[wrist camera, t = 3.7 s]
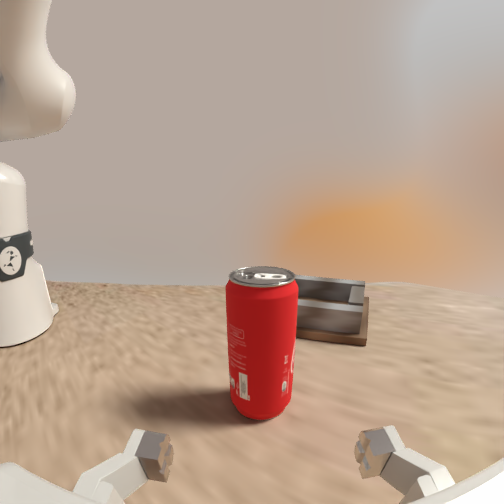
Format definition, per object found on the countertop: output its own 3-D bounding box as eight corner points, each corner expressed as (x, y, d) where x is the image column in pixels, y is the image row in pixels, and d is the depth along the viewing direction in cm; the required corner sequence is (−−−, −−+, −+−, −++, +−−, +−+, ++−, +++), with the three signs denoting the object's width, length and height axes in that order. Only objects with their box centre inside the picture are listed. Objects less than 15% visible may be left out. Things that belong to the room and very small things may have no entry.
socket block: (251, 329, 38) (251, 301, 37) (283, 293, 51) (284, 272, 50) (365, 345, 32) (370, 316, 31) (368, 302, 46) (370, 280, 45)
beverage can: (237, 384, 26) (233, 264, 23) (291, 388, 25) (298, 266, 23) (225, 419, 21) (216, 284, 18) (288, 425, 20) (299, 287, 18)
